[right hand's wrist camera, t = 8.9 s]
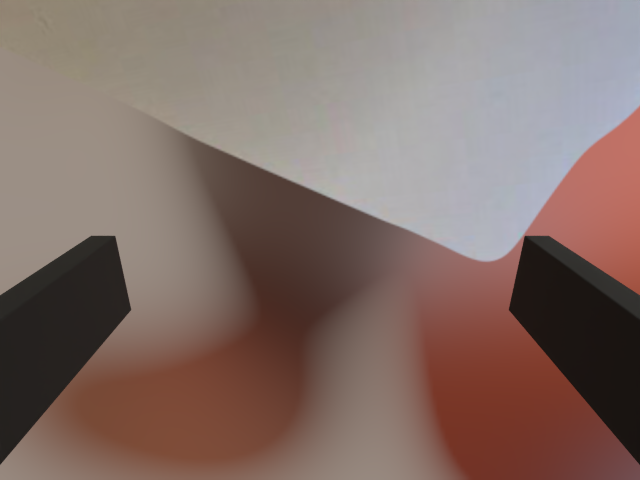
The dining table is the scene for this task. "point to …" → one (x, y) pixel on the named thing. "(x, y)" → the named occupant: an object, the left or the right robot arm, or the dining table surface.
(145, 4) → the dining table surface
